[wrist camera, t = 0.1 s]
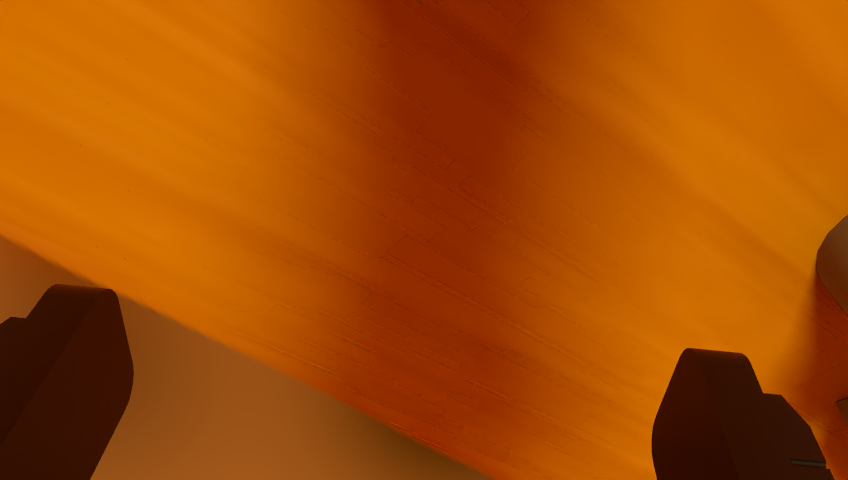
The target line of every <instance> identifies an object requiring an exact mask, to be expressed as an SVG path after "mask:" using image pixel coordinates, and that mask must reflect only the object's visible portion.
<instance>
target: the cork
mask: <svg viewBox="0 0 848 480" xmlns="http://www.w3.org/2000/svg"><path fill="white" fill-rule="evenodd" d="M816 269H817V272H818V275H819V277H820V280H821V282H822V283H823V285H824V286H825V287H826V289H827V290H828V291H829V292H830V294H831V295H832V296H833V298H834V299H835V300H836V301H837V303H838V304H839V305H840V307H841V308H842V309H843V311H844V312H845V313H846V314H847V316H848V216H846V217H845V218H844V219H843V220H842V221H841V222H840V223H839V224H838V225H837V226H835V227H834V228H833V229H832V230H831V231H830V232H829V233H828V235H827V236H826V238H825V240H824V242H823V243H822V245H821V247H820V249H819V250H818V256H817V263H816Z"/></svg>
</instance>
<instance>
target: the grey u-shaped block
mask: <svg viewBox="0 0 848 480" xmlns="http://www.w3.org/2000/svg"><path fill="white" fill-rule="evenodd" d="M837 405H838V407H839V409H840V411H841V413H842V415H843V418H844V420H845V422H846V424H847V426H848V398H847V399H844V400H841V401H838V402H837Z"/></svg>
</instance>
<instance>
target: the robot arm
mask: <svg viewBox="0 0 848 480" xmlns="http://www.w3.org/2000/svg"><path fill="white" fill-rule="evenodd" d="M133 374H134V371H133V362H132V358H131V353H130V349H129V345H128V340H127V336H126V331H125V327H124V322H123V318H122V314H121V309H120V305H119V301H118V297H117V295H116V293H115V292H114V291H113V290H111V289H105V288H95V287H84V286H74V285H64V284H55V285H53V286H51V287H50V288H49V289H48V290H47V291H46V292H45V293H44V295H43V296H42V297H41V299H40V300H39V301H38V303H37V304H36V306H35V307H34V308H33V310H32V311H31V312H30V314H29V315H28V316H27V318H17V317H10V318H9V319H7V320H6V321H4V322H3V323H1V324H0V480H90V479H91V476H92V474H93V473H94V471H95V469H96V466H97V465H98V463H99V461H100V459H101V456H102V455H103V453H104V451H105V449H106V447H107V445H108V443H109V441H110V439H111V437H112V435H113V433H114V431H115V429H116V427H117V425H118V423H119V421H120V419H121V417H122V415H123V413H124V411H125V409H126V407H127V404H128V402H129V399H130V395H131V391H132V385H133ZM652 457H653V463H654V468H655V472H656V476H657V480H834V478H833V476H832V473H831V471H830V469H826V460H825V458H824V456H823V454H822V452H821V450H820V447H819V445H818V443H817V441H816V439H815V437H814V434H813V432H812V430H811V428H810V426H809V425H808V424H807V423H806V422H805V421H804V420H803V419H802V418H801V416H800V415H799V414H798V413H797V412H796V411H795V410H794V409H793V408H792V407H791V406H790V404H789V403H788V402H787V401H786V400H785V399H784V398H783V397H782V396H781V395H775V394H765V393H763V392H762V389H761V387H760V385H759V382H758V380H757V377H756V375H755V373H754V370H753V368H752V365H751V363H750V361H749V360H748V358H747V357H746V356H745V355H744V354H742V353H734V352H724V351H714V350H704V349H694V348H687V349H685V350H684V351H683V352H682V354H681V356H680V358H679V360H678V363H677V365H676V368H675V370H674V373H673V375H672V378H671V380H670V383H669V385H668V388H667V390H666V393H665V395H664V398H663V400H662V402H661V405H660V407H659V410H658V412H657V415H656V418H655V421H654V425H653V431H652Z"/></svg>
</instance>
